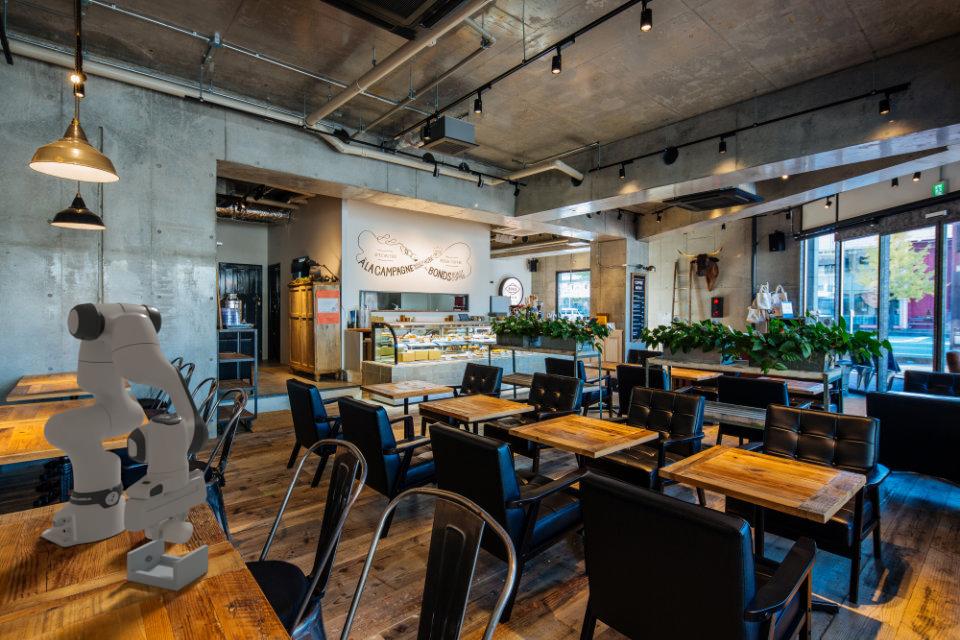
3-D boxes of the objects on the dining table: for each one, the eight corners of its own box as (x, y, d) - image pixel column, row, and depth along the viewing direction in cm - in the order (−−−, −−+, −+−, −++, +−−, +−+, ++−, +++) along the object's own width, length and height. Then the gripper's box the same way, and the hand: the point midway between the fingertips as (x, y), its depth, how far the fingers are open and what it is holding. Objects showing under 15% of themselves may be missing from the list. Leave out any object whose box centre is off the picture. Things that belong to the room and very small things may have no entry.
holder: (127, 580, 117) (127, 553, 117) (161, 562, 126) (160, 536, 126) (177, 590, 113) (176, 562, 113) (208, 571, 122) (208, 545, 122)
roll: (144, 542, 118) (144, 522, 118) (163, 533, 123) (162, 514, 123) (175, 547, 116) (175, 527, 116) (193, 538, 120) (193, 518, 120)
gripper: (194, 465, 130) (194, 515, 130) (118, 492, 110) (119, 551, 111) (212, 467, 128) (212, 518, 128) (139, 495, 109) (139, 554, 109)
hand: (169, 533), depth 119 cm, fingers closed on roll, 5 cm apart
